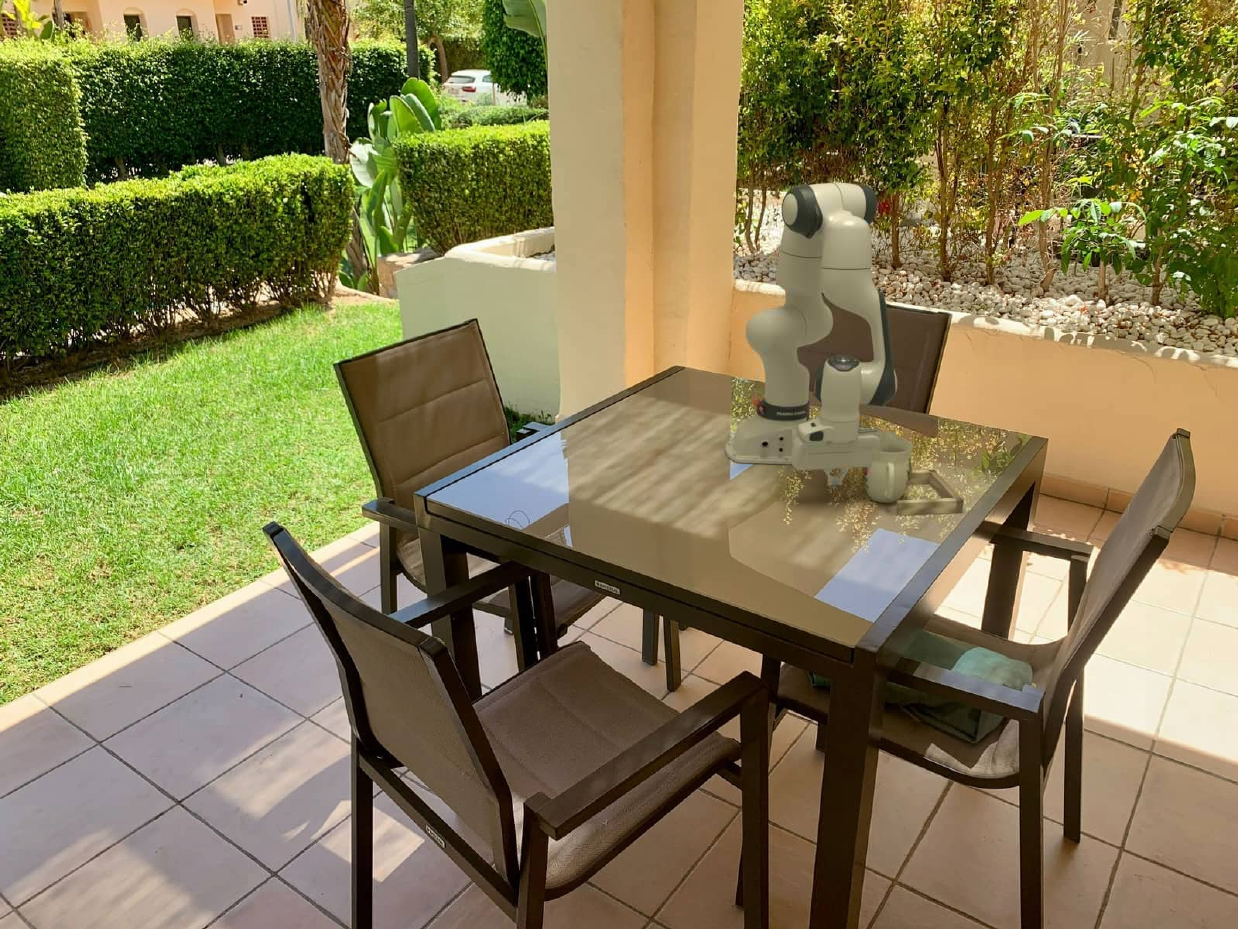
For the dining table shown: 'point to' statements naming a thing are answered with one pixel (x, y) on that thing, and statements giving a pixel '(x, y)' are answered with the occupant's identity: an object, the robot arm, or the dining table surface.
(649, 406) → the dining table surface
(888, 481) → the pitcher
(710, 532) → the dining table surface
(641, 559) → the dining table surface
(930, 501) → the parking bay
